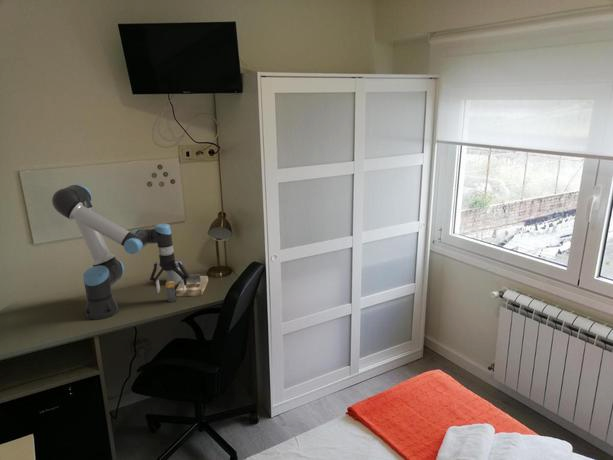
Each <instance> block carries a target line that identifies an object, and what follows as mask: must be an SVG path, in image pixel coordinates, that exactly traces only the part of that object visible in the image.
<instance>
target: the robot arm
mask: <svg viewBox="0 0 613 460" xmlns="http://www.w3.org/2000/svg"><path fill="white" fill-rule="evenodd" d="M92 198H93V196H92V193H91V191H90V189H89V188H88V187H86V186H84V185H82V184H73V185H68V186H65V187H64V188H60V189H58V190H57V191H55V192H54V193H53V195H52V198H51V204H52V206H53V208H54V209H55V211H56V212H57V213H59V214H60V215H62V216H63V217H65V218H67V220H68V219H69V220H71V221H72V220H74V221H75V223H76V225H77V227H78V229H79V232H80V234H81V235H82V238H83V240H84V242H85V245H86V247H87V249H88V251H89V253H90V255H91V258H92V260H93V261H92V263H91V265H92V267H89V268H87V269H86V270H85V271H84V272H83V276H82V277H83V283H84V288H85V289H84V290H85V294H86V299H87V304H86V308H85V317H86V318H87V319H89V320H101V319H102V320H103V319H107V318H110V317H112V316H115V314H117V313H119V306H118V303H117V302H116V300H115V298H114V296H113V291H112V286H114V285H115V284H116V282H118V281H119V280H120V279H121V278H122V276H123V275H124V273H125V266H124V264H123V262H122V261H121V260H119V259H117V258H116V256H115V255H114V254H113V253H111V251H110V250H109V248H108V245H107V244H106V241H105V239H104V237H106V238H108V239H109V240H112V241H113V242H115V243H117V244H118V245H121V246H122V247H123V248H124V250H125V252H126V253H127V254H130V255H133V254H134V255H135V254H137V253H139V252H141V251H142V249H144V247H146V246H147V245H149V244H157V250H158V255H159V256H158V258H159V262H157V261H156V262H155V263H154V264H153V269H152V271H151V272H152V273H151V276H150V278H149V281H150V282H151V281H153V283H154V284H153V285H154V288H156V291H157V294H160V292H161V286H160V280H159V279H158V278H159V277H160V275H162V273H163V271H165V272H166V271H171V270H173V271H174V272H176V273H177V274H178V275H179V276H180V277H181V280H182V286H183V292H185V290H186V287H185V285H186V284H187V280H186V279H187V278H189V276H190V275H191V274H189V273H188V271H187V269H186V268H185V266H184V265H183V263H182V261H181V260H179V261H176V257H175V253H174V252H175V250H174V244H173V243H174V242H173V237H172V229H171V226H170V224H169V223H158V224H156V225H155V226H154V228H143V229H142V228H139V229H134V230H133V231H132V232H131V231H129V230H127V229H126V228H124V227H123V226H121V225H118V224H117V223H115V222H113V221H112V220H110V219H108V218H105V217H104V216H102V215H101V214H98V213H97V212H95V211H93V204H92ZM103 236H104V237H103ZM176 264H177V265H178V266H179V268H180V270H179V269H177V267H176V266H175V265H176ZM159 267H160V268H161V269H160V270H159V272H158V273H157V271H158V270H157V269H158V268H159ZM156 273H157V274H156Z"/></svg>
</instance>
